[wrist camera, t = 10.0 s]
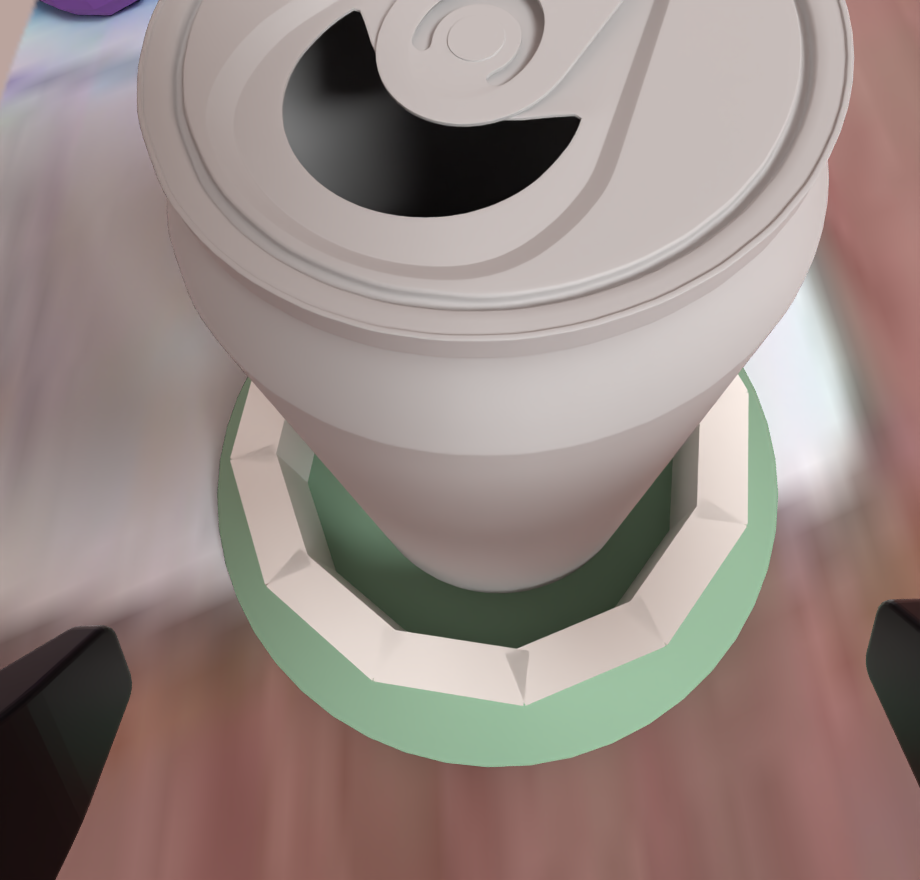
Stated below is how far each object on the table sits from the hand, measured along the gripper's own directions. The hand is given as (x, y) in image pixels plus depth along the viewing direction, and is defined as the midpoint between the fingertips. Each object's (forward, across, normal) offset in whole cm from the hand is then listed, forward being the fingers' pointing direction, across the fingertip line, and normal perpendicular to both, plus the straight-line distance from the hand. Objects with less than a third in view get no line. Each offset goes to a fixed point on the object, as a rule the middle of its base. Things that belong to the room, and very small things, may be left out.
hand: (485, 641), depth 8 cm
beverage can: (+9, 0, +2) cm, 9 cm away
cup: (+9, 0, +2) cm, 10 cm away
